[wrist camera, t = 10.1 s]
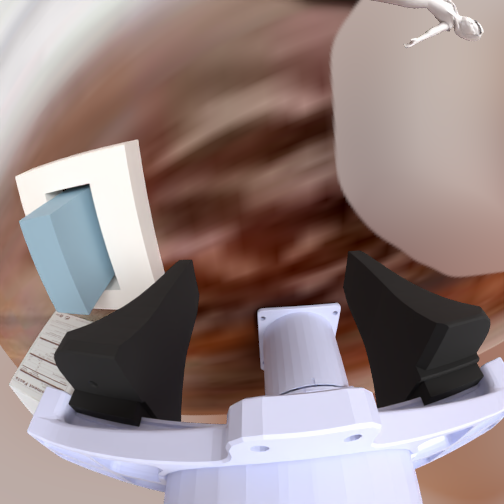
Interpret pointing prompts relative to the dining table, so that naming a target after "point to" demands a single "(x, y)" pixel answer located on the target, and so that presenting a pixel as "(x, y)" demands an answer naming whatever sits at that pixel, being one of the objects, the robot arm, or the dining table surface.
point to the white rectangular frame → (107, 212)
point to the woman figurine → (442, 19)
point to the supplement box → (44, 361)
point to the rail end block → (69, 250)
